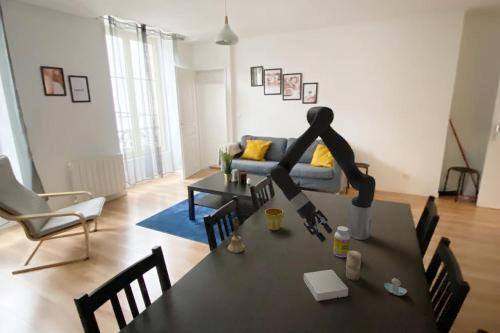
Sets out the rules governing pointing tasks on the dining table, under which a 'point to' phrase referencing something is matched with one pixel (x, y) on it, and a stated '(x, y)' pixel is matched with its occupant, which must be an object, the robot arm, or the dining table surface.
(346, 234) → the supplement bottle
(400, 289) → the pacifier
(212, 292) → the dining table surface
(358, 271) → the birch post
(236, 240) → the hand bell
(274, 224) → the plant pot
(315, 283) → the plinth
